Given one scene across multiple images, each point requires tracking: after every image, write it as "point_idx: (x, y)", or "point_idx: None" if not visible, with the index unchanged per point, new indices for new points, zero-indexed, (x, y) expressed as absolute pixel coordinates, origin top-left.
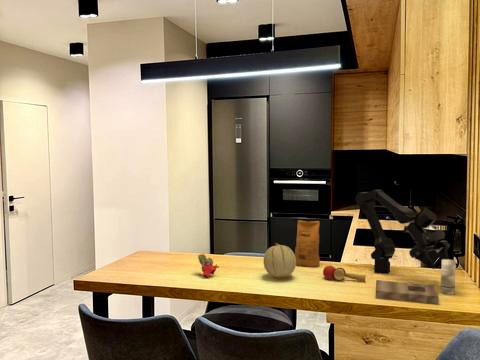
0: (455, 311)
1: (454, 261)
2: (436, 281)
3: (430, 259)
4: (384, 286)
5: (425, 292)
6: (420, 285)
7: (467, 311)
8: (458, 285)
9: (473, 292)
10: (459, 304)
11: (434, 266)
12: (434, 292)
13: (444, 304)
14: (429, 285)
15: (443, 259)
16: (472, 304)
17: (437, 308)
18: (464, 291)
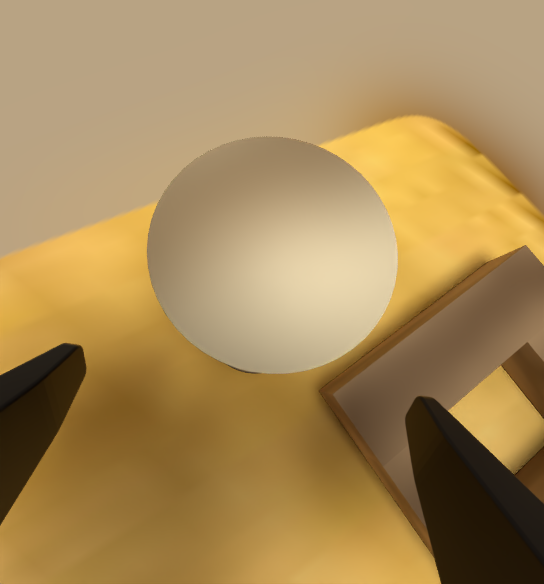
0: (491, 168)
1: (240, 158)
2: (26, 543)
3: (535, 528)
4: None
5: (537, 340)
6: None
7: (442, 134)
8: (13, 365)
9: (108, 230)
10: (386, 195)
11: (439, 406)
12: (482, 301)
13: (455, 244)
14: (373, 414)
15: (263, 358)
16: None
17: (536, 239)
18: (131, 274)
